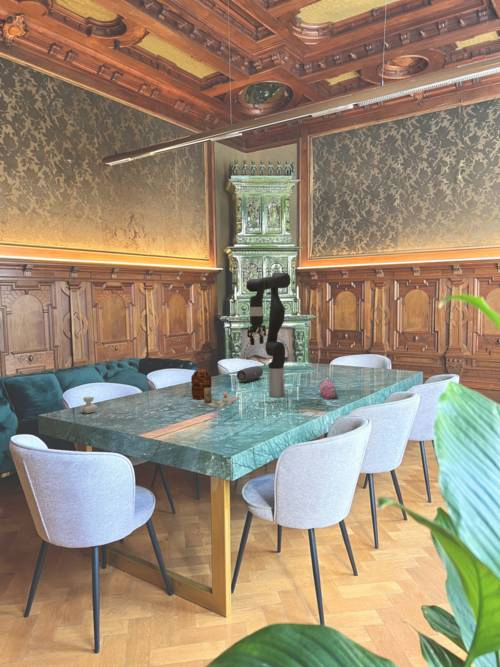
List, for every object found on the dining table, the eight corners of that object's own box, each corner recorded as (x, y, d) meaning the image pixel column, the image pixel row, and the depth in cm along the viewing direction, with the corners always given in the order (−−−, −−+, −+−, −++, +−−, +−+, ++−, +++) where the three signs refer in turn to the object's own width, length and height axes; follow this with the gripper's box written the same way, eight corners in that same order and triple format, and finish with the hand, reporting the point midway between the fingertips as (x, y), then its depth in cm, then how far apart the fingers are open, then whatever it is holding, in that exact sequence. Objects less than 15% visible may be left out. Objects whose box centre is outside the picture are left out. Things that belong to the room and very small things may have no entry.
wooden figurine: (195, 400, 268) (194, 370, 266) (191, 398, 273) (190, 369, 272) (213, 398, 274) (212, 368, 273) (208, 396, 279) (207, 367, 278)
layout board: (215, 400, 267) (215, 398, 267) (234, 403, 258) (234, 400, 258) (199, 405, 256) (199, 402, 256) (218, 408, 247) (218, 405, 247)
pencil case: (319, 392, 285) (319, 378, 284) (334, 392, 284) (334, 378, 283) (320, 399, 264) (320, 384, 263) (336, 400, 263) (336, 384, 262)
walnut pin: (207, 401, 259) (207, 387, 258) (213, 401, 257) (212, 388, 256) (203, 402, 256) (202, 388, 255) (208, 403, 253) (207, 389, 253)
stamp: (93, 410, 249) (93, 394, 248) (99, 411, 244) (99, 396, 244) (78, 413, 243) (77, 397, 242) (83, 415, 238) (83, 399, 237)
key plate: (229, 397, 274) (229, 390, 273) (239, 399, 269) (239, 391, 269) (220, 400, 267) (220, 392, 267) (231, 401, 262) (230, 394, 262)
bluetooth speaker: (247, 384, 318) (246, 369, 318) (236, 382, 323) (235, 369, 323) (263, 379, 337) (263, 365, 337) (253, 378, 342) (253, 365, 342)
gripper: (254, 315, 242) (254, 345, 243) (269, 314, 253) (269, 343, 254) (243, 315, 246) (243, 345, 247) (258, 314, 258) (259, 343, 259)
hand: (257, 344), depth 251 cm, fingers open, 8 cm apart
